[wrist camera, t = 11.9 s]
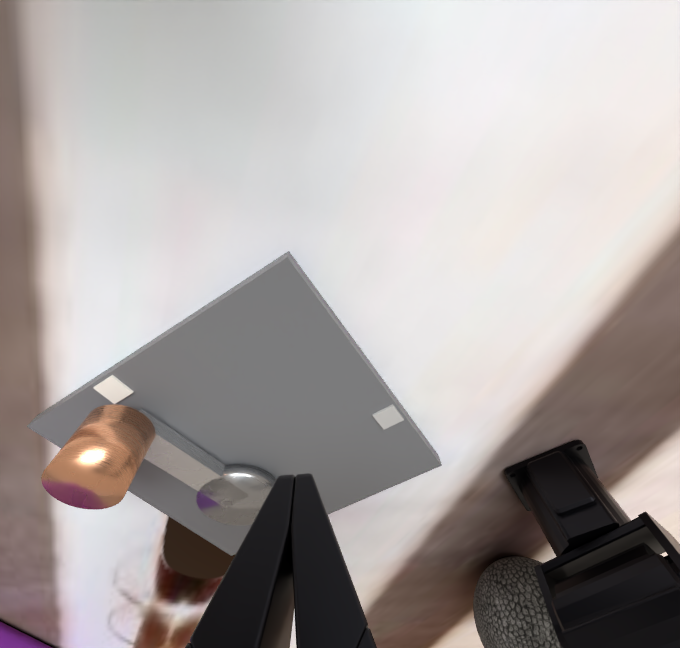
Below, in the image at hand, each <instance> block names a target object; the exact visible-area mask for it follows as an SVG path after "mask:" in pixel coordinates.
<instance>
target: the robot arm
mask: <svg viewBox="0 0 680 648" xmlns="http://www.w3.org/2000/svg"><path fill="white" fill-rule="evenodd" d="M504 473H505V475H506V477H507V479H508V480H509V482H510V484H511V485H512V487H513V489H514V490H515V492H516V494H517V495H518V497H519V498H520V500H521V502H522V503H523V505H524V507H525V508H526V510H527V511H532V513H533V514H534V516H535V518H536V520H537V522H538V524H539V525H540V527H541V529H542V531H543V533H544V534H545V536H546V538H547V540H548V542H549V543H550V545H551V547H552V549H553V551H554V553H555V554H556V556H557V557H556V558H554V559H551V560H549V561H547V562H545V563H543V564H541V563H540V564H538V565H536V566H534V569H535V572H536V575H537V578H538V579H537V581H538V584H539V587H540V590H541V592H542V595H543V598H544V601H545V604H546V607H547V610H548V613H549V616H550V618H551V621H552V624H553V627H554V630H555V633H556V636H557V638H558V641H559V644H560V647H561V648H680V544H679V543H678V542H677V541H676V539H675V538H674V537H673V536H672V535H671V534H670V533H669V532H668V531H667V530H665V529H664V528H663V527H662V526H661V525H660V524H659V523H658V522H657V521H656V520H654V519H653V518H652V517H651V516H650V515H649V514H648V513H647V512H644V513H642V514H640V515H638V516H639V517H638V518H636V519H634V520H632V521H631V520H630V518H629V517H628V516H627V515H626V513H625V512H624V511H623V510H622V508H621V507H620V506H619V504H618V503H617V502H616V501H615V499H614V498H613V497H612V496H611V494H610V493H609V492H608V491H607V489H606V488H605V487H604V485H603V484H602V483H601V482H600V480H599V479H598V477H597V474H596V471H595V469H594V466H593V464H592V461H591V458H590V456H589V453H588V450H587V448H586V446H585V444H584V443H583V442H582V441H581V440H576V441H573V442H571V443H568V444H566V445H563V446H561V447H558V448H556V449H553V450H551V451H549V452H546V453H544V454H541V455H539V456H536V457H534V458H531V459H529V460H527V461H524V462H522V463H519V464H517V465H514V466H512V467H509V468H507V469H506V470H505V472H504ZM664 552H667V554H668V556H665V557H663V556H662V555H660V554H662V553H664ZM294 608H295V626H296V645H297V648H377V647H376V644H375V642H374V639H373V636H372V633H371V631H370V629H369V628H368V623H367V620H366V618H365V615H364V612H363V609H362V607H361V604H360V601H359V599H358V596H357V593H356V591H355V588H354V585H353V582H352V580H351V577H350V574H349V572H348V569H347V566H346V563H345V561H344V558H343V555H342V553H341V550H340V547H339V544H338V542H337V539H336V536H335V534H334V531H333V528H332V525H331V523H330V520H329V517H328V515H327V512H326V509H325V506H324V504H323V501H322V498H321V496H320V493H319V490H318V487H317V485H316V482H315V479H314V477H313V475H312V474H311V473H307V474H298V475H296V477H295V475H280V476H279V477H278V478H277V479H276V481H275V483H274V484H273V486H272V488H271V490H270V492H269V494H268V496H267V497H266V499H265V501H264V503H263V505H262V507H261V508H260V510H259V512H258V514H257V516H256V518H255V520H254V521H253V523H252V525H251V527H250V529H249V531H248V533H247V534H246V536H245V538H244V540H243V542H242V544H241V545H240V547H239V549H238V551H237V553H236V555H235V557H234V558H233V560H232V562H231V564H230V566H229V568H228V570H227V571H226V573H225V575H224V577H223V579H222V581H221V582H220V584H219V586H218V588H217V590H216V592H215V594H214V595H213V597H212V599H211V601H210V603H209V605H208V607H207V608H206V610H205V612H204V614H203V616H202V618H201V619H200V621H199V623H198V625H197V627H196V629H195V631H194V632H193V634H192V636H191V638H190V642H191V643H188V644H187V645H186V647H185V648H290V640H291V631H292V622H293V614H294Z"/></svg>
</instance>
